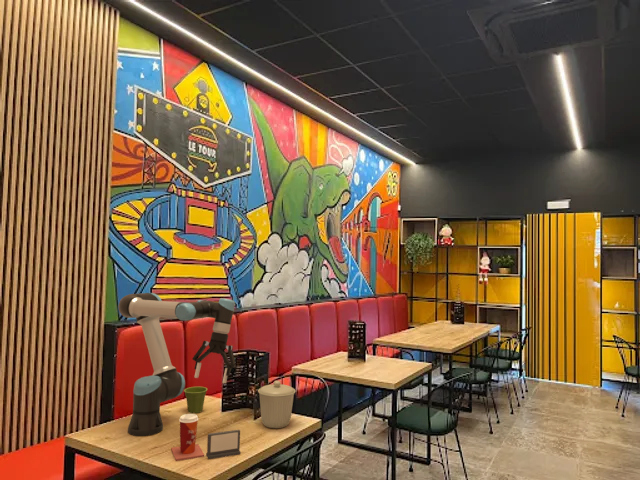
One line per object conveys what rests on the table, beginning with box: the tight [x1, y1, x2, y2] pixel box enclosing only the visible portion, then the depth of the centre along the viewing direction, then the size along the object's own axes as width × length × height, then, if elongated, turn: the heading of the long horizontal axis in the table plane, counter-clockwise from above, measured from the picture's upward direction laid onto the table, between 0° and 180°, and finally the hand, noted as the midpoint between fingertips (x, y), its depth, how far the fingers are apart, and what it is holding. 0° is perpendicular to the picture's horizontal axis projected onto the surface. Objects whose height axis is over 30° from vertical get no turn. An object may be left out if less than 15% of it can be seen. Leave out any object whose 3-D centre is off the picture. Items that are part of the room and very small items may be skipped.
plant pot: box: [183, 386, 208, 414], centre depth 243 cm, size 12×12×11 cm
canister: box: [257, 380, 296, 429], centre depth 226 cm, size 18×18×21 cm
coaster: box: [170, 443, 205, 462], centre depth 190 cm, size 12×11×1 cm
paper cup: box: [178, 413, 199, 454], centre depth 190 cm, size 8×8×14 cm
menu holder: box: [205, 429, 241, 460], centre depth 189 cm, size 4×13×9 cm, turn 116°
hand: (210, 380), depth 208 cm, fingers open, 13 cm apart
